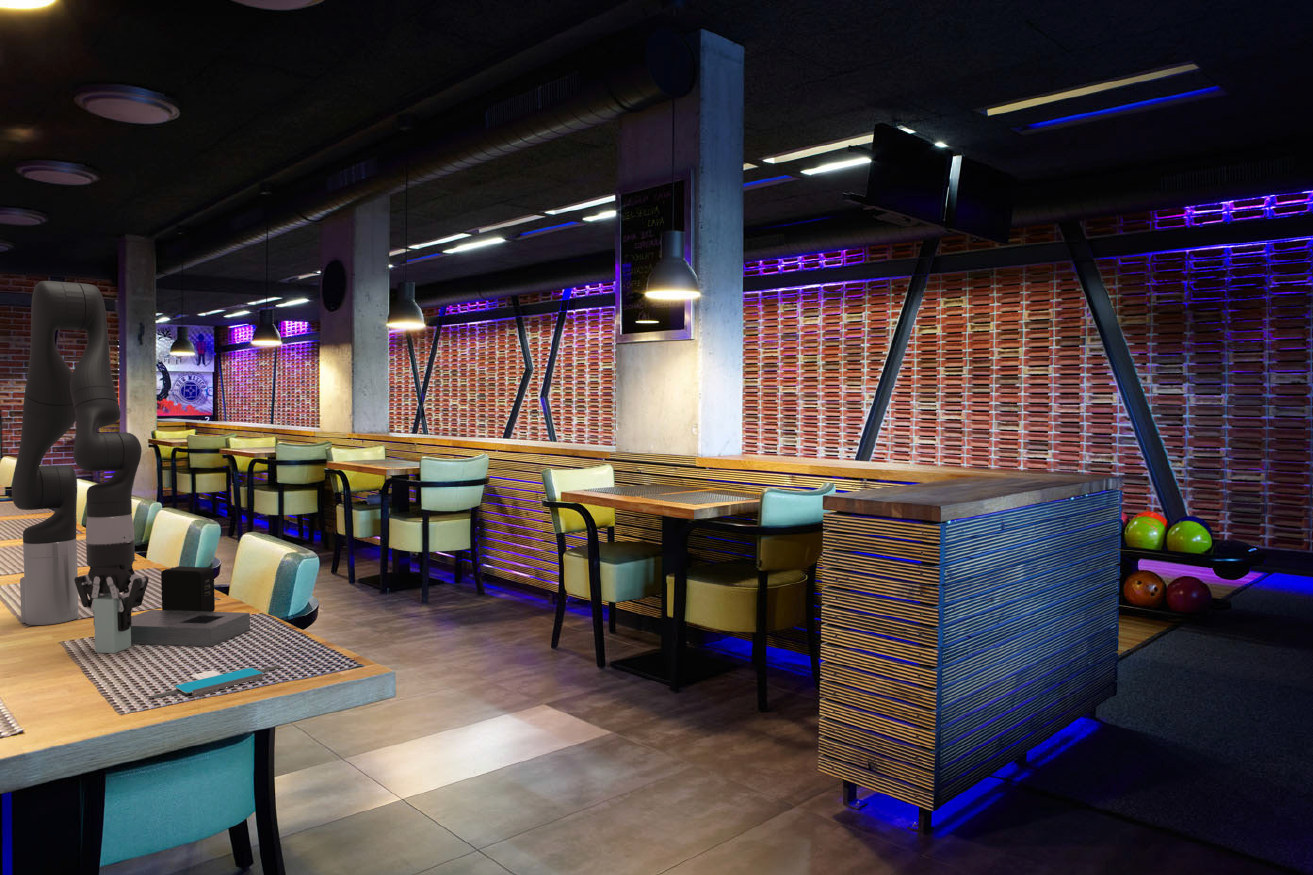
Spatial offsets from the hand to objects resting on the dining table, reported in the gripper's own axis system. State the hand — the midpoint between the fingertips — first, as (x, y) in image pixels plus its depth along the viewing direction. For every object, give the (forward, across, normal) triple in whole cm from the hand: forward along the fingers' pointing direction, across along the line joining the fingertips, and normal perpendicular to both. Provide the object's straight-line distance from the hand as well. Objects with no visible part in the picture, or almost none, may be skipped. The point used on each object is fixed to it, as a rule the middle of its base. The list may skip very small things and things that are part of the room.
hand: (112, 629), depth 154 cm
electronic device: (+4, -5, +27) cm, 28 cm away
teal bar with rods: (+5, +31, -14) cm, 34 cm away
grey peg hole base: (+4, +6, +10) cm, 12 cm away
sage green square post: (+4, 0, 0) cm, 4 cm away
